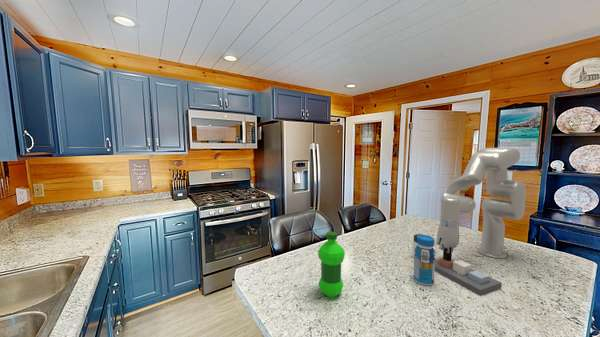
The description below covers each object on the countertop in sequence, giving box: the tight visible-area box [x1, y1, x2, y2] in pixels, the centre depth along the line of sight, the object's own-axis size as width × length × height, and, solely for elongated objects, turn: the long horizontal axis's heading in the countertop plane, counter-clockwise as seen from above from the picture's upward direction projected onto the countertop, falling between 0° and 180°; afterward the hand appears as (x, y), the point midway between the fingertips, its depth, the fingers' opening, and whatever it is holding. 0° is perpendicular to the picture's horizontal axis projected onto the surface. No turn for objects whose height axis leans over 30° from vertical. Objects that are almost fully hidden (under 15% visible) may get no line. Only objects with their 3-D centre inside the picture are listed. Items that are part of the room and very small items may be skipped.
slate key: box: [468, 270, 490, 285], centre depth 99 cm, size 5×5×4 cm
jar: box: [411, 233, 423, 259], centre depth 123 cm, size 9×8×12 cm
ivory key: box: [453, 259, 472, 276], centre depth 105 cm, size 5×5×4 cm
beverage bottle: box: [412, 234, 437, 286], centre depth 102 cm, size 8×8×20 cm
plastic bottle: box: [317, 231, 346, 298], centre depth 93 cm, size 10×10×25 cm
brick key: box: [438, 256, 456, 269], centre depth 112 cm, size 5×5×4 cm
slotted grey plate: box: [434, 259, 503, 296], centre depth 106 cm, size 14×24×2 cm, turn 21°
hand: (447, 259), depth 112 cm, fingers closed
